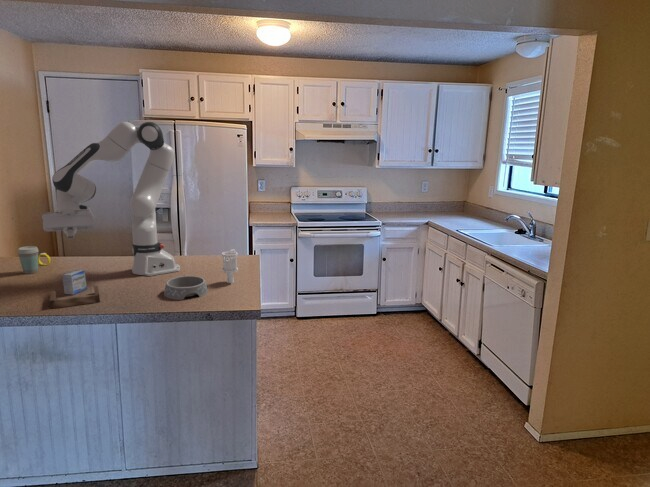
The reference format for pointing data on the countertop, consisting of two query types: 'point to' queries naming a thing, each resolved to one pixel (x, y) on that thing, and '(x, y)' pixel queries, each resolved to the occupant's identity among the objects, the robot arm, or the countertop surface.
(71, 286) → the medicine box
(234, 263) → the white stemmed cylinder
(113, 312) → the countertop surface
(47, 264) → the watch
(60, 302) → the brown u-shaped frame
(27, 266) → the coffee cup
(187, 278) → the dog bowl
